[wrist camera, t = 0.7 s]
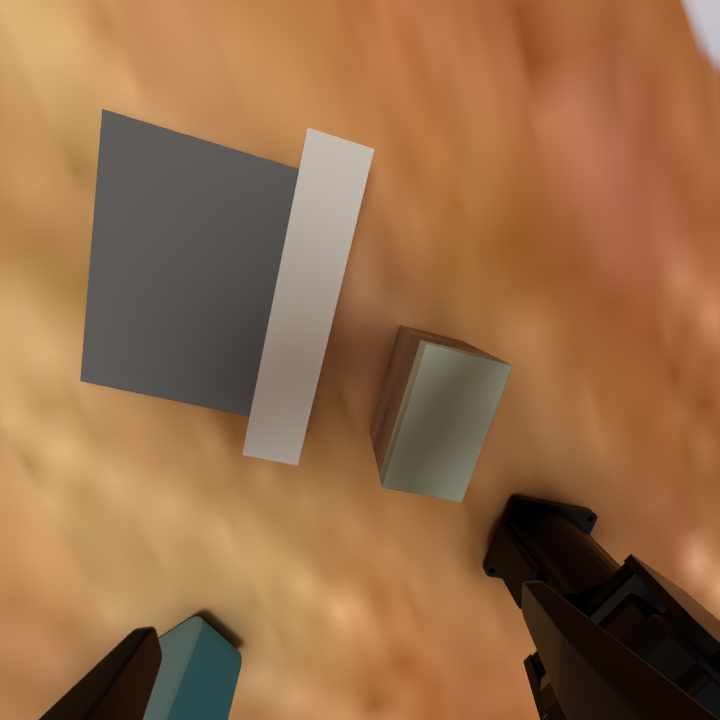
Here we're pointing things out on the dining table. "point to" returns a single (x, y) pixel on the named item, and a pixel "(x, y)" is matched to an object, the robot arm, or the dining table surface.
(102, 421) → the dining table surface
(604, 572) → the robot arm
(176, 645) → the data package
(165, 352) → the mat
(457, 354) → the block
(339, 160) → the rail
